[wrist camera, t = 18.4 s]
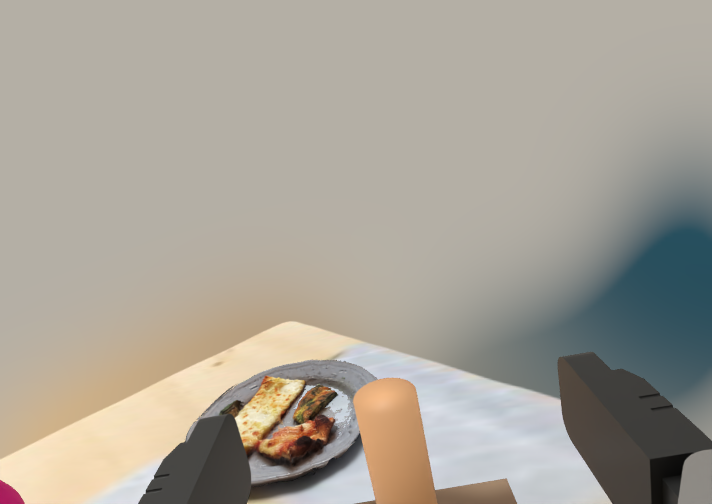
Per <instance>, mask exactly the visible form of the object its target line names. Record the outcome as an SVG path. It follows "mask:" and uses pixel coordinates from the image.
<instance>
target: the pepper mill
mask: <svg viewBox="0 0 712 504" xmlns="http://www.w3.org/2000/svg"><path fill="white" fill-rule="evenodd" d="M0 504H24V501H23V499H22V498H21V496H20V495H19V493H18V492H17V491H16V490H15V489H13V488H12V487H11V486H10V485H8V484H6V483H5V482H3V481H1V480H0Z"/></svg>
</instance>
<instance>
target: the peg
mask: <svg viewBox="0 0 712 504" xmlns="http://www.w3.org/2000/svg"><path fill="white" fill-rule="evenodd" d="M353 404H354V408H355V412H356V417H357V421H358V426H359V430H360V434H361V439H362V443H363V447H364V452H365V456H366V460H367V465H368V469H369V474H370V478H371V482H372V487H373V491H374V495H375V500H376V504H437V499H436V494H435V488H434V483H433V478H432V472H431V467H430V462H429V456H428V451H427V446H426V440H425V435H424V430H423V424H422V419H421V414H420V408H419V403H418V398H417V392H416V388H415V386H414V385H413V384H412V383H411V382H409V381H407V380H404V379H400V378H384V379H379V380H376V381H373V382H370V383H368V384H366V385H365V386H363V387H362V388H360V389H359V390H358V391H357V393H356V394H355V396H354V399H353Z"/></svg>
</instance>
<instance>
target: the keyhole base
mask: <svg viewBox="0 0 712 504" xmlns="http://www.w3.org/2000/svg"><path fill="white" fill-rule="evenodd" d="M435 494H436V499H437V504H517V502H516V500H515V497H514V495H513V493H512V490H511V488H510V486H509V483H508V481H507V479H500V480H494V481H488V482H482V483H476V484H470V485H464V486H458V487H452V488H446V489H440V490H435ZM356 504H376V500H374V501H368V502H362V503H356Z"/></svg>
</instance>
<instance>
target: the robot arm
mask: <svg viewBox="0 0 712 504" xmlns="http://www.w3.org/2000/svg"><path fill="white" fill-rule="evenodd" d="M558 375H559V385H560V396H561V406H562V415H563V420H564V424H565V427H566V430H567V433H568V435H569V437H570V439H571V441H572V443H573V444H574V446H575V447H576V449H577V450H578V452H579V453H580V455H581V456H582V458H583V459H584V461H585V462H586V464H587V465H588V467H589V468H590V470H591V472H592V473H593V475H594V476H595V478H596V479H597V481H598V482H599V484H600V485H601V487H602V488H603V490H604V491H605V493H606V494H607V496H608V497H609V499H610V500H611V502H612V503H613V504H712V441H711V440H710V439H709V438H708V437H707V436H706V435H705V434H704V433H703V432H702V431H701V430H699V429H698V428H697V427H696V426H695V425H694V424H693V423H692V422H691V421H690V420H689V419H687V418H686V417H685V416H684V415H683V414H682V413H681V412H680V411H679V410H678V409H676V408H673V405H672V404H671V403H670V402H669V401H668V400H667V399H666V398H664V397H663V396H660V393H659V392H658V391H657V390H656V389H655V388H653V387H652V386H651V385H650V384H649V383H648V382H647V381H646V380H645V379H643V378H641V377H639V376H637V375H634V374H632V373H630V372H628V371H626V370H624V369H617V370H611V369H610V368H609V367H608V366H607V365H606V364H605V363H604V362H603V361H602V360H601V359H600V358H599V357H598V356H596V354H595V353H593V352H587V353H581V354H575V355H570V356H563V357H559V359H558ZM250 490H251V470H250V465H249V462H248V458H247V455H246V452H245V449H244V445H243V442H242V439H241V436H240V433H239V429H238V426H237V423H236V420H235V418H234V416H233V415H232V414H224V415H218V416H213V417H207V418H201V419H200V420H199V421H198V422H197V424H196V426H195V428H194V430H193V432H192V433H191V435H190V437H189V439H188V441H187V442H184V443H180V444H179V445H178V446H177V447H176V448H175V449H174V450H173V451H172V452H171V453H170V454H169V455H168V456H167V457H166V458H165V459H164V460H163V461H162V463H161V465H160V467H159V468H158V470H157V472H156V474H155V475H154V480H152V481H151V482H150V484H149V486H148V488H147V489H146V494H143V496H142V498H141V500H140V501H139V503H138V504H247V501H248V498H249V494H250Z"/></svg>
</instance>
